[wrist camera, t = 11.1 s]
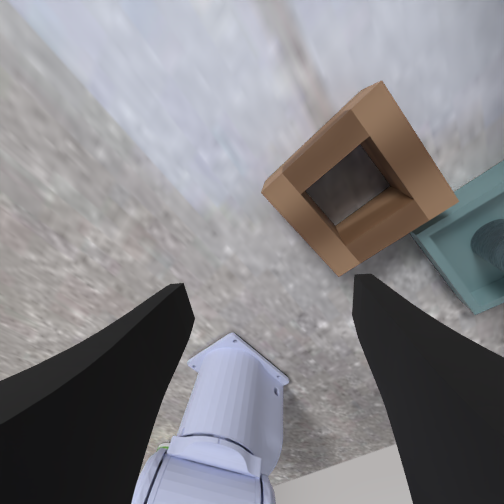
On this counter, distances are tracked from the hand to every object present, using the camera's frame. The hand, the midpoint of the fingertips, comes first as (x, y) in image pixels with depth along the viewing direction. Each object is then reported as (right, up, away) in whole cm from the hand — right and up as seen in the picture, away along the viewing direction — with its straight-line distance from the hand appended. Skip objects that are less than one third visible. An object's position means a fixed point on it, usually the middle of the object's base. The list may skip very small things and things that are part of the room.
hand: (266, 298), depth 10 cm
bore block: (+6, +7, +7) cm, 12 cm away
